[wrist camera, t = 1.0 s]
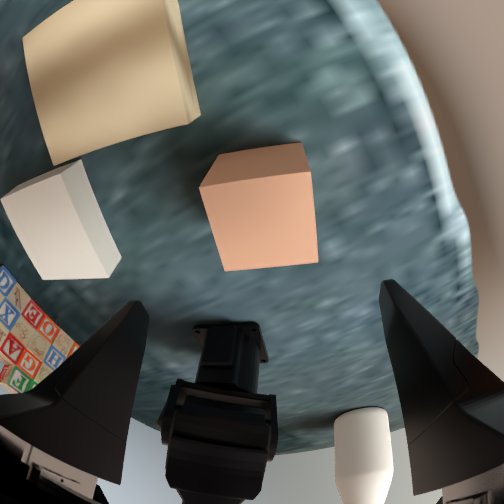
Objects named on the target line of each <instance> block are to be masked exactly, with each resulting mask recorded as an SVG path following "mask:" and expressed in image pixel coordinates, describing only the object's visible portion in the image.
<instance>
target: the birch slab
mask: <svg viewBox="0 0 504 504" xmlns="http://www.w3.org/2000/svg"><path fill="white" fill-rule="evenodd" d="M23 46H24V53H25V60H26V66H27V71H28V76H29V81H30V86H31V91H32V95H33V99H34V103H35V107H36V111H37V115H38V118H39V122H40V125H41V129H42V132H43V135H44V139H45V142H46V145H47V148H48V151H49V154H50V157H51V159H52V162H53V165H54V166H55V165H58V164H60V163H62V162H65V161H67V160H70V159H73V158H75V157H78V156H80V155H83V154H86V153H89V152H91V151H94V150H97V149H100V148H103V147H106V146H109V145H112V144H115V143H118V142H122V141H125V140H128V139H132V138H135V137H138V136H142V135H146V134H149V133H153V132H157V131H161V130H165V129H169V128H173V127H177V126H182V125H186V124H189V123H191V122H192V121H193V120H195V119H196V118H198V117H199V116H201V113H200V109H199V104H198V100H197V95H196V90H195V85H194V81H193V76H192V71H191V66H190V61H189V56H188V51H187V46H186V41H185V36H184V31H183V26H182V21H181V16H180V10H179V5H178V0H74V1H72V2H70V3H69V4H67V5H66V6H64V7H63V8H61V9H60V10H58V11H57V12H55V13H54V14H53V15H51V16H50V17H48V18H47V19H46V20H44V21H43V22H42V23H40V24H39V25H38V26H37V27H35V28H34V29H33V30H31V31H30V32H29V33H28V34H27V35H25V36H24V37H23Z"/></svg>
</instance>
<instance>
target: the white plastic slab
mask: <svg viewBox="0 0 504 504" xmlns="http://www.w3.org/2000/svg"><path fill="white" fill-rule="evenodd" d="M0 200H1V202H2V205H3V207H4V209H5V211H6V213H7V216H8V218H9V220H10V222H11V224H12V226H13V228H14V230H15V232H16V234H17V236H18V238H19V240H20V242H21V243H22V245H23V247H24V249H25V251H26V252H27V254H28V256H29V258H30V259H31V261H32V263H33V265H34V266H35V268H36V269H37V271H38V273H39V274H40V276H41V278H42V279H43V280H58V279H92V278H109V277H110V275H111V274H112V272H113V270H114V269H115V267H116V266H117V264H118V262H119V261H120V259H121V258H122V257H121V255H120V253H119V251H118V249H117V247H116V245H115V243H114V240H113V238H112V236H111V234H110V232H109V229H108V227H107V225H106V222H105V220H104V218H103V215H102V213H101V211H100V208H99V206H98V203H97V201H96V198H95V196H94V193H93V191H92V188H91V185H90V183H89V180H88V177H87V174H86V172H85V169H84V166H83V163H82V160H81V159H80V160H78V161H75V162H72V163H69V164H67V165H64V166H62V167H59V168H57V169H54V170H52V171H49V172H47V173H44V174H42V175H40V176H37V177H35V178H33V179H30V180H28V181H26V182H24V183H22V184H20V185H18V186H16V187H15V188H14V189H12V190H11V191H10V192H9V193H7V194H6V195H5V196H4V197H2V198H1V199H0Z"/></svg>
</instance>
